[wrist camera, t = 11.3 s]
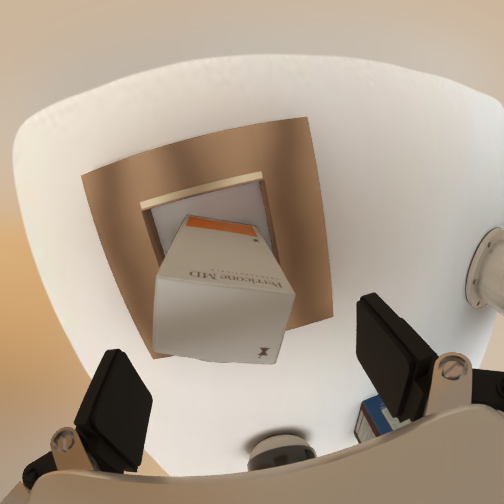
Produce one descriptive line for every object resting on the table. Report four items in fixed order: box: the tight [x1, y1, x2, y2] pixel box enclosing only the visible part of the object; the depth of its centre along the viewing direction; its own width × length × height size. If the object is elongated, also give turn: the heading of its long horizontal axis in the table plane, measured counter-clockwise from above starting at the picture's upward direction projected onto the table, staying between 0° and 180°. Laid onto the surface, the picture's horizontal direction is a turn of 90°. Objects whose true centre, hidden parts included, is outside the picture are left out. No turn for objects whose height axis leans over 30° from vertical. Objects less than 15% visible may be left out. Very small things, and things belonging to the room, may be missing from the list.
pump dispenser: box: [247, 435, 317, 472], centre depth 27 cm, size 10×10×15 cm
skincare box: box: [152, 215, 295, 365], centre depth 17 cm, size 6×4×12 cm
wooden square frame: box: [81, 117, 333, 359], centre depth 21 cm, size 17×17×3 cm
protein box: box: [354, 395, 411, 444], centre depth 29 cm, size 10×15×16 cm
